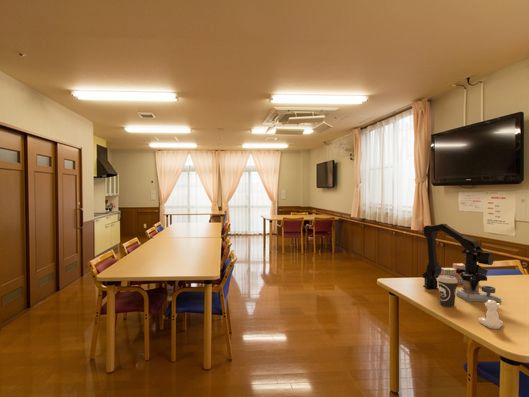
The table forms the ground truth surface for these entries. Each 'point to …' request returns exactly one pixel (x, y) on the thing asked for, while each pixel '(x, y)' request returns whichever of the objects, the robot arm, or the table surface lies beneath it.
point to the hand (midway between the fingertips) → (470, 289)
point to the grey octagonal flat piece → (488, 289)
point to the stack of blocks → (453, 272)
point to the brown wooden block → (469, 286)
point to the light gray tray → (476, 296)
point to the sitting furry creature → (491, 315)
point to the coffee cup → (447, 290)
